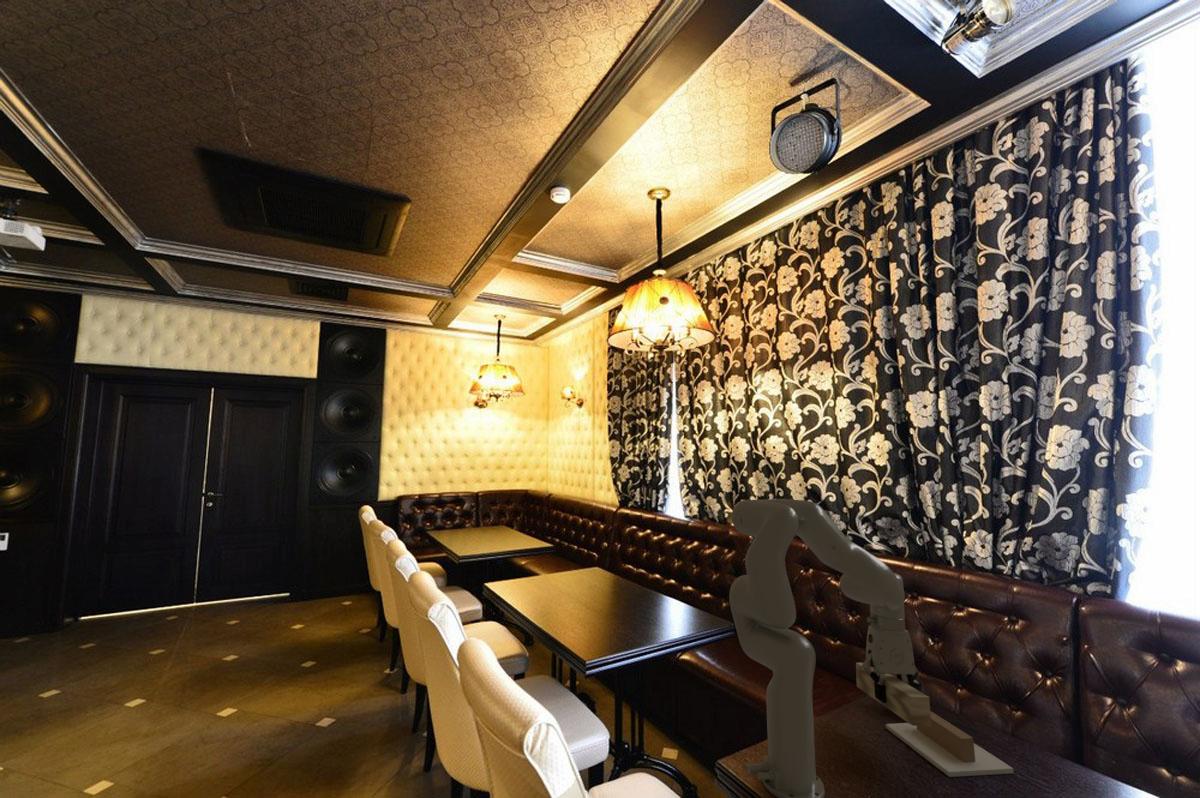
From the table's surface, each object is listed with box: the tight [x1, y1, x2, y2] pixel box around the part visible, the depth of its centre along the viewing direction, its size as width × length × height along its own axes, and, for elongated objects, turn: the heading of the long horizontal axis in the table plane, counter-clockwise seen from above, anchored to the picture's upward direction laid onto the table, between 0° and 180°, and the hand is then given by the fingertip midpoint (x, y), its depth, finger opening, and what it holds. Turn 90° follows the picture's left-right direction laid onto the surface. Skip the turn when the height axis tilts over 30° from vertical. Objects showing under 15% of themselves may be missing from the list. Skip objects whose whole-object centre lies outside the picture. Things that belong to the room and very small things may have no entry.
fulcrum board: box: [885, 710, 1015, 778], centre depth 116 cm, size 16×20×6 cm
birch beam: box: [855, 662, 931, 726], centre depth 117 cm, size 20×4×6 cm, turn 5°
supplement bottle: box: [908, 668, 925, 694], centre depth 134 cm, size 7×7×12 cm
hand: (890, 699), depth 116 cm, fingers closed on birch beam, 4 cm apart
